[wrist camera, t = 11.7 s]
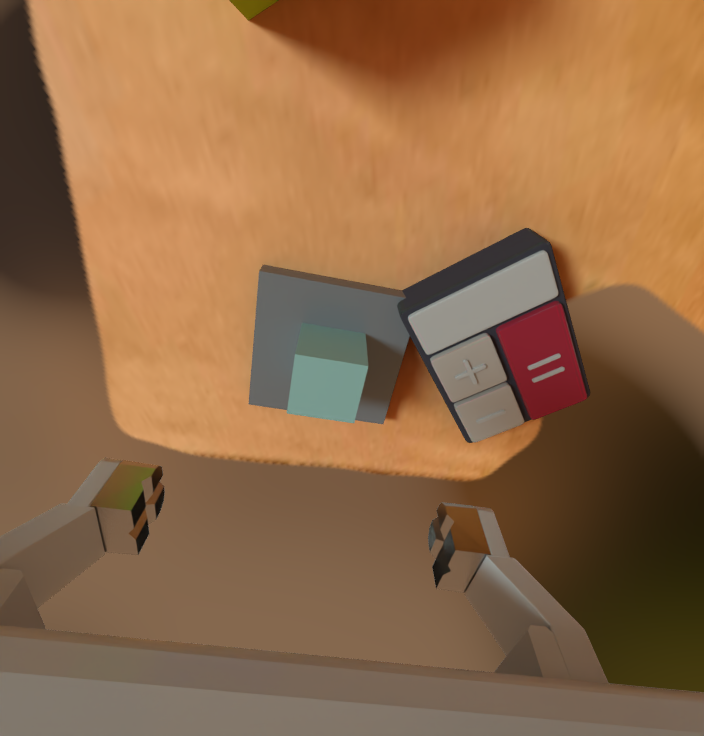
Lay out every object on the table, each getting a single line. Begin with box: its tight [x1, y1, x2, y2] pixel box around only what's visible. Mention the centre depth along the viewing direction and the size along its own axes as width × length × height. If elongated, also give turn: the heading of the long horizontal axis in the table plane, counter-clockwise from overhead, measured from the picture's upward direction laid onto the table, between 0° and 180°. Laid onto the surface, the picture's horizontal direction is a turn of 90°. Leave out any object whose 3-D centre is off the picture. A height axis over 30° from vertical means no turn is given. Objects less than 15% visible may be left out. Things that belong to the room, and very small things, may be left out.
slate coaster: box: [249, 265, 410, 424], centre depth 33 cm, size 12×12×2 cm
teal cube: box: [287, 323, 368, 423], centre depth 31 cm, size 5×5×5 cm
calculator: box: [397, 228, 590, 443], centre depth 33 cm, size 11×4×15 cm
